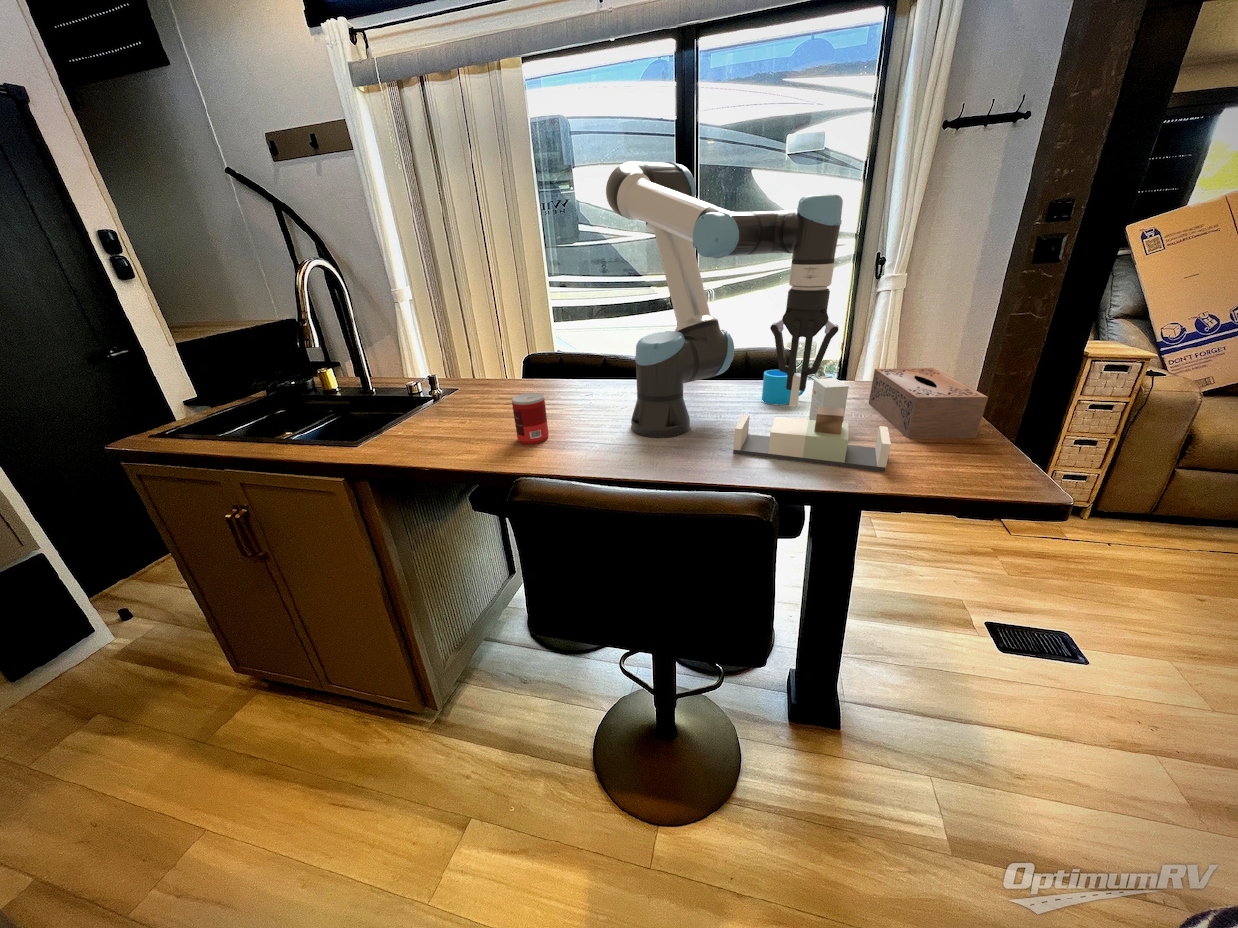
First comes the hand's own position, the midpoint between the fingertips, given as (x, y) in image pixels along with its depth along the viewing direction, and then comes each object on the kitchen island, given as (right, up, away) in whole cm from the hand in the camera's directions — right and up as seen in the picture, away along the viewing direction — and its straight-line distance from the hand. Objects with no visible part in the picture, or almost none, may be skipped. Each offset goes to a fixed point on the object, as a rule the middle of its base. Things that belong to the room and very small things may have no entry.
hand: (793, 404), depth 100 cm
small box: (+15, -2, +19) cm, 24 cm away
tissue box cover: (+38, -2, +18) cm, 42 cm away
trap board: (+4, -10, +3) cm, 11 cm away
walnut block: (+7, -5, -1) cm, 9 cm away
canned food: (-59, -7, +18) cm, 62 cm away
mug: (+11, +6, +37) cm, 39 cm away
